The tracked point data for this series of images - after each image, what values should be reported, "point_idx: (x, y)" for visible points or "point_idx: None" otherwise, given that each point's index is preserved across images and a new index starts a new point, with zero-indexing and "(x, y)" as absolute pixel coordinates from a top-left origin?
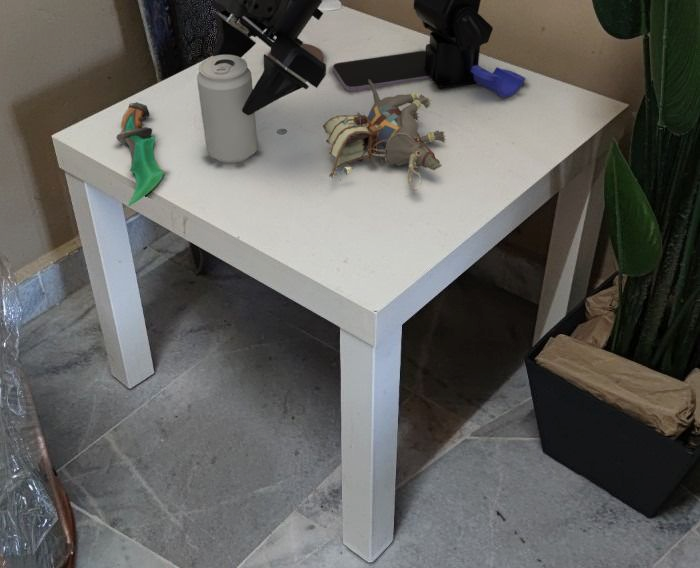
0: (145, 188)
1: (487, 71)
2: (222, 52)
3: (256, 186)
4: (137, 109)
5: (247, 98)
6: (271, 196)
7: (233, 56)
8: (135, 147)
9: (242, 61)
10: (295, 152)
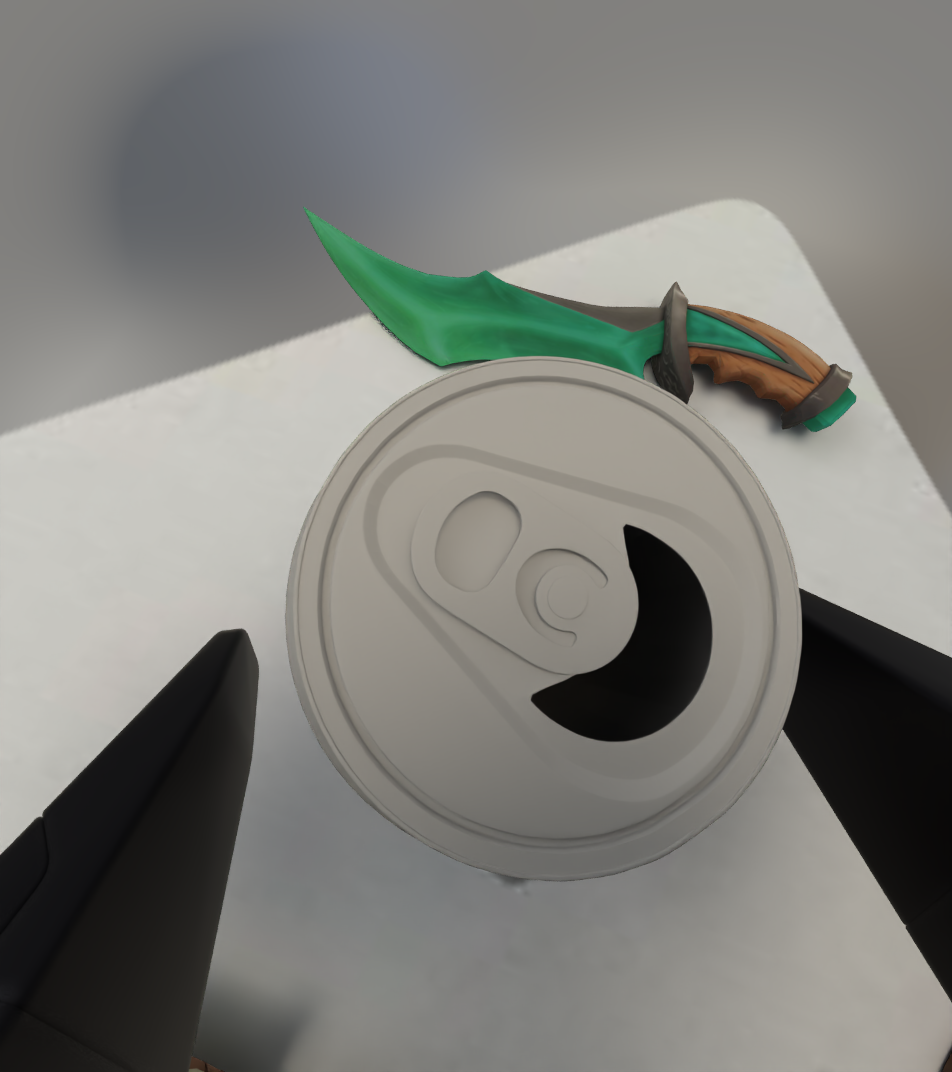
0: (369, 281)
1: None
2: (914, 723)
3: (207, 622)
4: (810, 387)
5: (214, 690)
6: (113, 650)
7: (729, 777)
8: (599, 321)
9: (597, 840)
10: (345, 858)
